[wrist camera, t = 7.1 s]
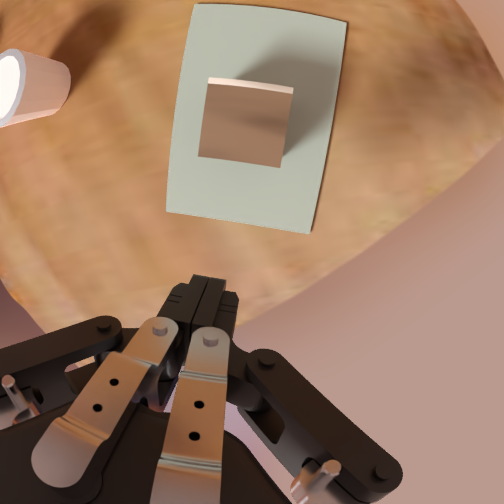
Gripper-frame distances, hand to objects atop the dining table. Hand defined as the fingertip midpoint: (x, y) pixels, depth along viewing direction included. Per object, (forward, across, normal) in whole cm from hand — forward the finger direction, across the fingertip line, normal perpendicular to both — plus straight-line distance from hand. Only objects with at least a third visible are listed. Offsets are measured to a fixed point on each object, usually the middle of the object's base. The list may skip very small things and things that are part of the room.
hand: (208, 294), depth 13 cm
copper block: (+9, 0, -5) cm, 10 cm away
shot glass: (+12, +20, -11) cm, 26 cm away
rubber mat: (+12, 0, -9) cm, 15 cm away
